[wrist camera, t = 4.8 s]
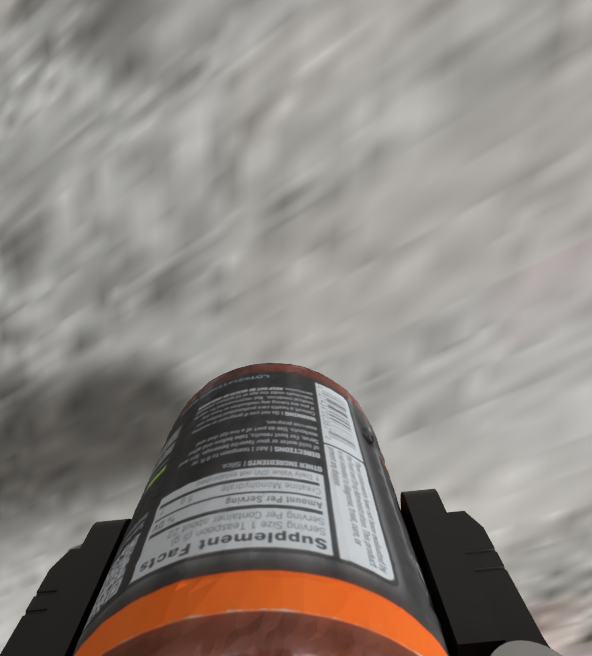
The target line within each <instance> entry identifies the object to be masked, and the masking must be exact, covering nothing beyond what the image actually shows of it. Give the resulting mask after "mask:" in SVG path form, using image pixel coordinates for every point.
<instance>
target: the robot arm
mask: <svg viewBox="0 0 592 656" xmlns="http://www.w3.org/2000/svg"><path fill="white" fill-rule="evenodd" d="M401 512H402V515H403V517H404V520H405V522H406V525H407V528H408V531H409V535H410V538H411V541H412V544H413V548H414V551H415V554H416V556H417V558H418V560H419V564H420V567H421V570H422V573H423V576H424V580H425V584H426V586H427V589H428V591H429V593H430V596H431V599H432V602H433V606H434V609H435V612H436V615H437V618H438V620H439V622H440V623H441V627H442V631H443V635H444V639H445V642H446V645H447V648H448V651H449V653H450V655H451V656H562V655H560V654H559V653H557V652H556V651H554V650H553V649H551V648H550V647H549V646H548V644H547V643H546V641H545V640H544V638H543V636H542V634H541V633H540V631H539V629H538V627H537V625H536V623H535V622H534V620H533V618H532V616H531V614H530V612H529V611H528V609H527V607H526V605H525V603H524V601H523V599H522V598H521V596H520V594H519V592H518V590H517V588H516V587H515V585H514V583H513V581H512V579H511V577H510V576H509V574H508V572H507V570H505V569H504V565H503V563H502V561H501V559H500V557H499V555H498V553H497V552H495V549H494V546H493V544H492V542H491V541H490V539H489V537H488V535H487V533H486V531H485V530H484V528H483V527H482V526H481V525H480V524H479V523H478V522H477V521H475V520H474V519H473V518H472V517H471V516H469V515H468V514H467V513H466V512H465V511H458V512H448V513H447V512H446V510H445V508H444V505H443V503H442V501H441V499H440V497H439V495H438V493H437V491H436V490H435V489H428V490H418V491H408V492H401ZM130 522H131V519H123V520H113V521H103V522H96V523H95V524H94V525H93V526H92V528H91V529H90V531H89V533H88V535H87V537H86V539H85V541H84V542H83V544H82V546H81V548H80V549H71V550H69V551H68V552H67V553H66V554H65V555H64V556H63V557H62V558H61V559H60V560H59V561H58V562H57V563H56V564H55V565H54V566H53V567H52V568H51V569H50V570H49V572H48V573H47V575H46V577H45V579H44V580H43V582H42V584H41V585H40V587H39V589H38V591H37V595H36V596H35V597H33V599H32V601H31V603H30V604H29V606H28V608H27V609H26V614H25V616H22V618H21V620H20V621H19V623H18V625H17V627H16V628H15V630H14V632H13V633H12V635H11V637H10V639H9V640H8V642H7V644H6V646H5V647H4V649H3V651H2V652H1V654H0V656H73V654H74V651H75V649H76V646H77V643H78V641H79V639H80V637H81V635H82V633H83V630H84V628H85V626H86V623H87V621H88V618H89V616H90V614H91V611H92V609H93V607H94V605H95V602H96V600H97V598H98V596H99V593H100V591H101V589H102V587H103V584H104V582H105V580H106V577H107V575H108V573H109V570H110V568H111V565H112V563H113V561H114V559H115V556H116V554H117V551H118V549H119V546H120V544H121V542H122V540H123V538H124V535H125V533H126V531H127V529H128V526H129V524H130Z"/></svg>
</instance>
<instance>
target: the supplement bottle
mask: <svg viewBox="0 0 592 656" xmlns="http://www.w3.org/2000/svg"><path fill="white" fill-rule="evenodd" d="M73 656H451V655H450V653H449V651H448V648H447V645H446V642H445V639H444V635H443V631H442V627H441V623H440V622H439V620H438V618H437V615H436V612H435V609H434V606H433V602H432V599H431V596H430V593H429V591H428V589H427V586H426V584H425V580H424V576H423V573H422V570H421V567H420V564H419V560H418V558H417V556H416V554H415V551H414V548H413V544H412V541H411V538H410V535H409V531H408V528H407V525H406V522H405V520H404V517H403V515H402V512H401V510H400V507H399V504H398V501H397V497H396V494H395V491H394V488H393V485H392V483H391V480H390V477H389V473H388V471H387V469H386V466H385V461H384V458H383V455H382V453H381V451H380V448H379V445H378V441H377V438H376V436H375V433H374V431H373V429H372V426H371V425H370V423H369V421H368V419H367V417H366V415H365V414H364V412H363V410H362V409H361V407H360V405H359V404H358V402H357V401H356V400H355V399H354V398H353V397H352V396H351V395H350V394H349V392H348V391H347V390H345V389H344V388H343V387H341V386H340V385H339V384H337V383H335V382H334V381H332V380H331V379H329V378H328V377H326V376H324V375H322V374H320V373H318V372H316V371H312V370H310V369H308V368H305V367H302V366H296V365H292V364H281V363H276V364H275V363H264V364H255V365H249V366H246V367H241V368H238V369H235V370H232V371H230V372H227V373H225V374H222V375H221V376H219V377H217V378H215V379H213V380H211V381H210V382H209V383H208V384H206V385H205V386H204V387H203V388H202V389H201V390H200V391H199V392H197V393H196V394H195V395H194V396H193V398H192V399H191V400H190V401H189V402H188V403H187V404H186V406H185V407H184V409H183V410H182V412H181V413H180V415H179V417H178V419H177V421H176V422H175V424H174V425H173V428H172V430H171V431H170V433H169V436H168V438H167V441H166V443H165V445H164V447H163V449H162V451H161V454H160V456H159V458H158V461H157V463H156V465H155V468H154V470H153V472H152V475H151V477H150V479H149V481H148V483H147V486H146V488H145V490H144V493H143V495H142V497H141V500H140V502H139V504H138V506H137V508H136V510H135V512H134V515H133V518H132V520H131V522H130V524H129V526H128V529H127V531H126V533H125V535H124V538H123V540H122V542H121V544H120V546H119V549H118V551H117V554H116V556H115V559H114V561H113V563H112V565H111V568H110V570H109V573H108V575H107V577H106V580H105V582H104V584H103V587H102V589H101V591H100V593H99V596H98V598H97V600H96V602H95V605H94V607H93V609H92V611H91V614H90V616H89V618H88V621H87V623H86V626H85V628H84V630H83V633H82V635H81V637H80V639H79V641H78V643H77V646H76V649H75V651H74V654H73Z"/></svg>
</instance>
